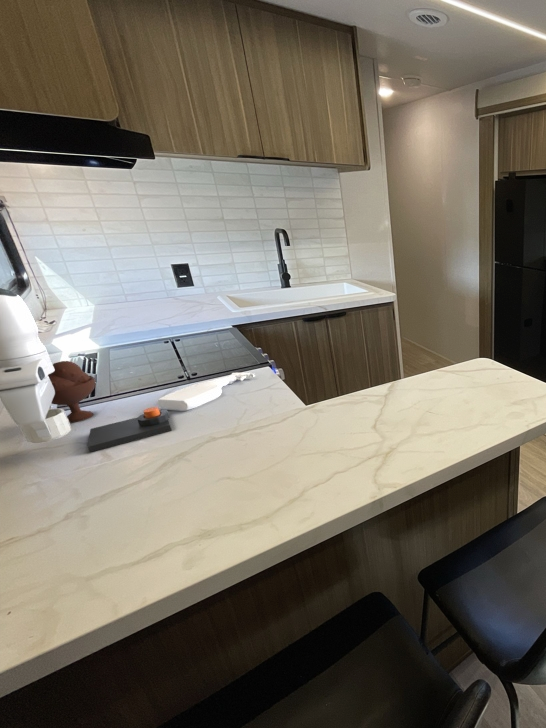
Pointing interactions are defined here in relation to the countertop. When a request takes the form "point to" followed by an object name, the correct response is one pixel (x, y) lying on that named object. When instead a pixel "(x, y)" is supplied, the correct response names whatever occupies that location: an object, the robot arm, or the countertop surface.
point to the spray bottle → (198, 393)
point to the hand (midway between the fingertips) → (47, 428)
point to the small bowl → (56, 424)
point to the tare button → (151, 412)
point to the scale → (128, 431)
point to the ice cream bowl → (71, 388)
